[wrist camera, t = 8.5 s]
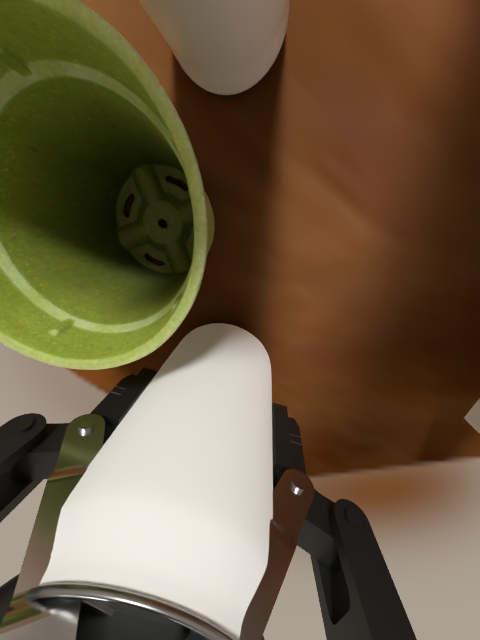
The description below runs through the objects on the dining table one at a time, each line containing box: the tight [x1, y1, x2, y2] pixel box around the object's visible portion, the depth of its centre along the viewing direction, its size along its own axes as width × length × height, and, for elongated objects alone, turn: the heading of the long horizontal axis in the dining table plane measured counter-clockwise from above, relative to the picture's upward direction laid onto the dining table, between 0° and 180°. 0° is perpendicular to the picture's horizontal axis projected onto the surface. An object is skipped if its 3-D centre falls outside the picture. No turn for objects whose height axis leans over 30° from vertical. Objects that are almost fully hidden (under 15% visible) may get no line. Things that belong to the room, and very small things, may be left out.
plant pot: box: [0, 0, 215, 370], centre depth 11 cm, size 9×9×9 cm
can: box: [25, 323, 273, 640], centre depth 11 cm, size 6×6×12 cm
